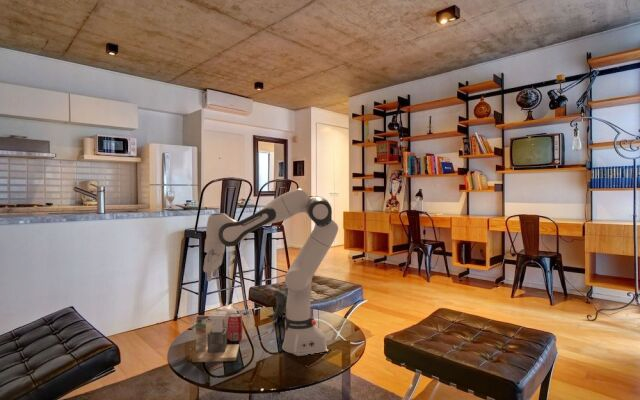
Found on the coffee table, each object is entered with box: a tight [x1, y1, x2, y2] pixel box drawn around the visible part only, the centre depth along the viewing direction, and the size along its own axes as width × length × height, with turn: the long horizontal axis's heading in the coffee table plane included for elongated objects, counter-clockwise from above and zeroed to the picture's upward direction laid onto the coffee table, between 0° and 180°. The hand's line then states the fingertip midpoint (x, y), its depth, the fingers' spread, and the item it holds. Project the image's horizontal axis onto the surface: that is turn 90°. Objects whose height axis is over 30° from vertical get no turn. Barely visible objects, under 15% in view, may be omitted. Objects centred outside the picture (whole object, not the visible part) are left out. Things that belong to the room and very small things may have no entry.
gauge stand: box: [191, 314, 240, 363], centre depth 161 cm, size 18×14×17 cm
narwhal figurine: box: [266, 286, 288, 321], centre depth 212 cm, size 14×15×18 cm
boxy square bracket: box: [196, 310, 227, 334], centre depth 162 cm, size 12×7×10 cm, turn 97°
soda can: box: [227, 312, 244, 342], centre depth 178 cm, size 7×7×12 cm
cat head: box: [209, 303, 238, 331], centre depth 192 cm, size 15×13×12 cm
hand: (211, 278), depth 165 cm, fingers open, 8 cm apart
